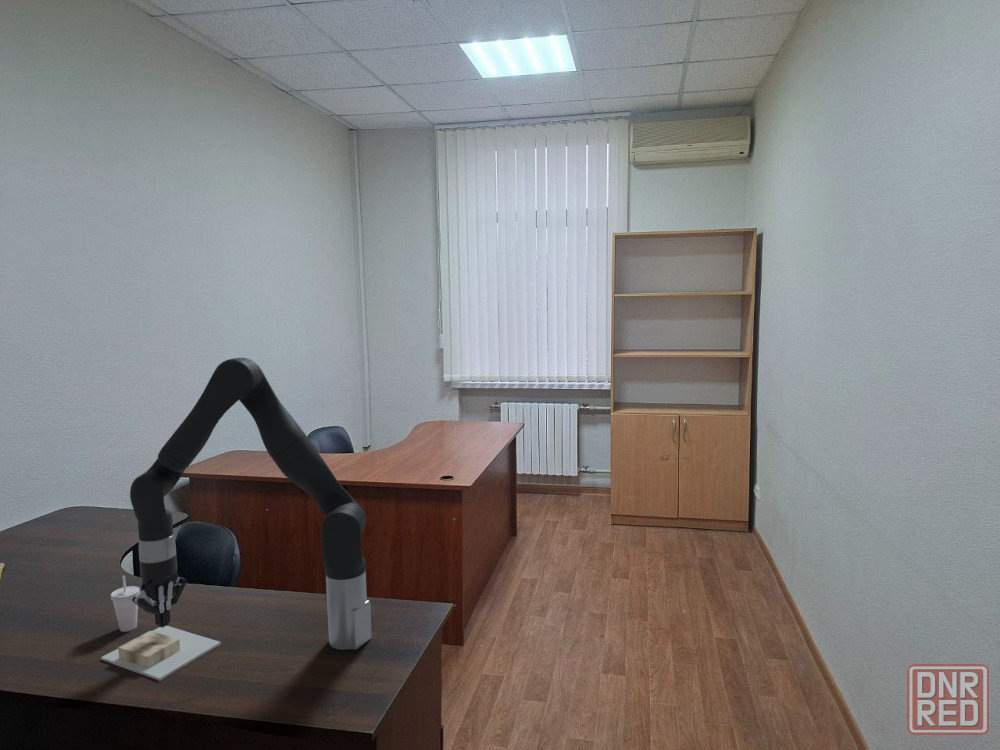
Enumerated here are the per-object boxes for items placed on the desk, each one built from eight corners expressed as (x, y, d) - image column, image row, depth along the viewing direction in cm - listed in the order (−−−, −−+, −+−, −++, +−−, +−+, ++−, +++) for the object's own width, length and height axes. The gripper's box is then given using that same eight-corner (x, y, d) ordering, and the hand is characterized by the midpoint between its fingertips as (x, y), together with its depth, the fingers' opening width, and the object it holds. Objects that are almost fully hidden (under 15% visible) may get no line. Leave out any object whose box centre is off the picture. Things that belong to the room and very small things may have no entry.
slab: (179, 639, 147) (147, 657, 140) (180, 650, 147) (148, 668, 140) (150, 630, 151) (118, 647, 144) (151, 641, 151) (119, 658, 144)
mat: (220, 644, 150) (220, 641, 150) (160, 680, 136) (159, 678, 136) (164, 627, 159) (164, 624, 159) (101, 659, 145) (101, 657, 144)
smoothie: (112, 637, 154) (107, 582, 153) (114, 625, 160) (110, 572, 158) (142, 630, 157) (138, 577, 156) (143, 619, 163) (139, 567, 161)
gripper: (141, 568, 138) (147, 643, 140) (193, 547, 150) (198, 616, 152) (119, 562, 141) (125, 635, 143) (172, 542, 153) (177, 609, 155)
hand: (163, 625), depth 148 cm, fingers closed
